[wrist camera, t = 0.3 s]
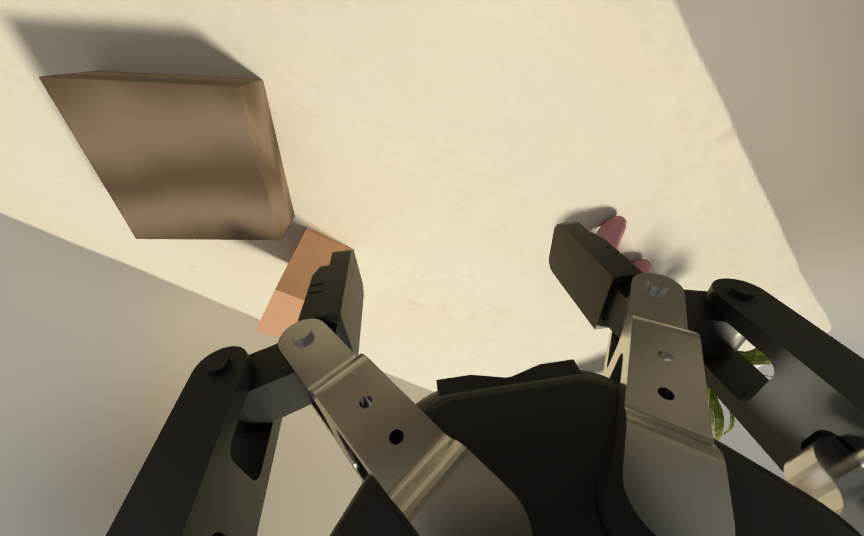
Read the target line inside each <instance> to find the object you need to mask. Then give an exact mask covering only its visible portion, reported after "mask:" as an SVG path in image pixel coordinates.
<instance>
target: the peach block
mask: <svg viewBox="0 0 864 536" xmlns="http://www.w3.org/2000/svg"><path fill="white" fill-rule="evenodd" d="M344 250H353V249H351V248H349V247H347V246H345V245H343V244H340V243H338V242H336V241H334V240H332V239H330V238H328V237H325V236H323V235H321V234H319V233H317V232H315V231H312V230H310V229H308V228H307V229H306V231H305V232H304V234H303V236H302V238H301V240H300V242H299V244H298V246H297V248H296V250H295V252H294V254H293V256H292V258H291V260H290V262H289V264H288V266H287V268H286V269H285V271H284V273H283V275H282V277H281V279H280V281H279V283H278V285H277V287H276V289H275V291H274V293H273V295H272V297H271V299H270V302H269V304H268V306H267V308H266V310H265V312H264V314H263V316H262V318H261V320H260V323H259V325H258V327H257V329H256V331H260V332H263V333H266V334H269V335H273V336H276V337H279V338H280V336H281V334H282V333H283V332H284V331H285V330H286V329H287V328H288V327H289V326H291V325H293V324H294V323H296V322H298V318H299V315H300V312H301V309H302V306H303V303H304V300H305V297H306V295H307V291H308V287H310V286H309V284H310V281H311V278H312V275H313V274H314V273H315V272H316V271H317V270H318V269H319V268H320V267H321V266H328V265H329V264H330V260H331V256H332V253H333V252H336V251H344ZM353 251H354V250H353Z"/></svg>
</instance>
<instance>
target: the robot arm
mask: <svg viewBox="0 0 864 536" xmlns="http://www.w3.org/2000/svg"><path fill="white" fill-rule="evenodd" d="M549 264H550V268H551V270H552V272H553V274H554V275H555V276H556V278H557V279H558V280H559V282H560V283H561V284H562V286H563V287H564V288H565V290H566V291H567V292H568V294H569V295H570V296H571V298H572V299H573V301H574V302H575V303H576V305H577V306H578V307H579V309H580V310H581V311H582V313H583V314H584V315H585V317H586V318H587V319H588V321H589V322H590V324H591V325H592V326H593V328H594V329H602V328H610V329H611V333H610V336H609V340H608V346H607V352H606V358H605V364H604V371H603V375H600V374H596V373H593V372H588V371H583V370H579V368H578V366H577V365H576V363H575V361H574V360H566V361H560V362H553V363H546V364H540V365H538V366H535V367H533V368H531V369H528V370H526V371H524V372H521V373H519V374H517V375H515V376H512V377H508V378H503V377H491V376H478V375H467V376H460V377H454V378H447V379H441V380H436V381H437V390H438V391H436V392H434V393H432V394H430V395H428V396H427V397H425V398H423V399H422V400H420V401H419V402H418V403H416V404H415V403H414V402H412V401H411V400H410V399H409V398H408V397H407V396H406V395H405V394H404V393H403V392H402V391H401V390H400V389H399V388H398V387H397V386H396V385H395V384H394V383H393V382H392V381H391V380H390V379H389V378H388V377H387V376H386V375H385V374H384V373H383V372H382V371H381V370H380V369H379V368H378V367H377V366H376V365H375V364H374V363H373V362H372V361H371V360H370V359H369V358H368V357H367V356H365V355H364V354H360V355H359V356H358V352H359V341H360V330H361V319H362V308H363V297H364V292H363V284H362V279H361V276H360V272H359V268H358V264H357V260H356V257H355V253H354V251H353V250H344V251H336V252H333V253H332V256H331V260H330V264H329V265H328V266H321V267H320V268H319V269H318V270H317V271H316V272H315V273H314V274H313V275H312V278H311V281H310V284H309V286H310V287H308V291H307V295H306V297H305V300H304V303H303V306H302V309H301V312H300V315H299V318H298V322H296V323H294V324H293V325H291V326H289V327H288V328H287V329H286V330H285V331H284V332H283V333H282V334H281V336H280V338H279V341H278V343H277V344H275V345H273V346H271V347H268V348H266V349H263V350H260V351H258V352H255V353H253V354H250V355H248V354H247V352H246V351H245V350H244V349H243V348H241V347H237V346H231V347H226V348H222V349H220V350H217V351H215V352H213V353H211V354H210V355H208V356H207V357H205V358H204V359H203V360H202V361H201V362H200V363H199V364H198V365H197V366H196V367H195V368H194V370H193V372H192V373H191V375H190V377H189V379H188V381H187V383H186V385H185V387H184V389H183V391H182V392H181V394H180V396H179V398H178V400H177V402H176V404H175V406H174V408H173V409H172V411H171V413H170V415H169V417H168V419H167V421H166V423H165V425H164V426H163V428H162V430H161V432H160V434H159V436H158V438H157V440H156V442H155V444H154V446H153V447H152V449H151V451H150V453H149V455H148V457H147V459H146V461H145V462H144V464H143V467H142V468H141V470H140V472H139V474H138V476H137V478H136V480H135V481H134V483H133V485H132V487H131V489H130V491H129V493H128V495H127V497H126V498H125V500H124V502H123V504H122V506H121V508H120V510H119V512H118V514H117V516H116V517H115V519H114V521H113V523H112V525H111V527H110V529H109V531H108V533H107V534H106V536H257V531H258V526H259V522H260V517H261V512H262V508H263V503H264V499H265V494H266V490H267V485H268V481H269V476H270V472H271V467H272V462H273V458H274V453H275V449H276V444H277V439H278V435H279V430H280V426H281V421H282V417H284V416H286V415H288V414H290V413H292V412H295V411H297V410H299V409H301V408H304V407H306V406H308V405H310V404H311V406H312V407H313V409H314V410H315V411H316V413H317V414H318V416H319V417H320V419H321V420H322V422H323V423H324V424H325V426H326V427H327V429H328V430H329V432H330V433H331V434H332V436H333V437H334V439H335V440H336V441H337V443H338V445H339V446H340V448H341V449H342V451H343V452H344V454H345V456H346V457H347V459H348V460H349V462H350V463H351V465H352V466H353V468H354V469H355V471H356V472H357V474H358V475H359V477H360V478H361V480H362V481H363V483H362V485H361V486H360V488H359V489H358V491H357V493H356V494H355V496H354V497H353V499H352V501H351V502H350V504H349V505H348V507H347V509H346V510H345V512H344V513H343V515H342V517H341V518H340V520H339V521H338V523H337V525H336V526H335V528H334V529H333V531H332V533H331V535H330V536H864V359H863V358H861V357H860V356H859V355H857V354H856V353H854V352H853V351H851V350H850V349H848V348H847V347H846V346H844V345H843V344H841V343H840V342H838V341H837V340H835V339H834V338H833V337H831V336H829V335H828V334H827V333H825V332H824V331H822V330H821V329H819V328H818V327H817V326H815V325H814V324H812V323H811V322H809V321H808V320H806V319H805V318H804V317H802V316H801V315H799V314H798V313H796V312H795V311H793V310H792V309H791V308H789V307H788V306H786V305H785V304H783V303H782V302H780V301H779V300H777V299H776V298H775V297H773V296H772V295H770V294H769V293H767V292H766V291H764V290H763V289H761V288H759V287H757V286H755V285H753V284H751V283H748V282H745V281H741V280H736V279H727V278H726V279H718V280H716V281H714V282H713V283H712V285H711V287H710V288H709V290H708V291H695V290H684V289H683V288H682V286H681V285H680V284H678V283H677V282H676V281H674V280H672V279H670V278H668V277H666V276H663V275H659V274H654V273H643V272H642V271H641V270H640V269H639V268H637V267H636V266H635V265H634V264H633V263H632V262H631V261H629V260H628V259H627V258H626V257H625V256H624V255H623V254H620V252H619V251H618V250H617V249H616V248H615V247H613V246H612V245H611V244H610V243H609V242H608V241H607V240H605V239H604V238H602V237H600V236H598V235H596V234H594V233H592V232H589V231H588V230H586V229H585V228H584V227H583V226H582V225H581V224H580V223H578V222H571V223H563V224H557V225H556V227H555V229H554V234H553V239H552V245H551V250H550V255H549ZM746 339H747V340H748V341H749V342H750V343H751V344H752V345H753V346H755V347H756V348H757V349H758V350H759V351H760V352H762V353H763V354H764V355H765V356H766V357H767V358H768V359H769V360H770V361H771V363H772V364H773V367H774V376H773V377H772V379H771V380H768V379H767V378H766V377H765V376H764V375H763V374H762V373H761V372H760V371H759V370H758V369H757V368H755V367H754V366H753V365H752V364H751V363H750V362H749V361H748V360H747V359H746V358H745V357H744V356H743V355H742V354H740V353H739V352H738V351H737V350H738V349H739V347H740V346H741V345H742V344H743V342H744V341H745V340H746ZM706 384H707V386H708V387H709V388H710V389H711V390H712V391H713V392H714V394H715V395H716V396H717V397H718V398H719V399H720V400H721V402H722V403H723V404H724V405H725V406H726V407H727V408H728V409H729V411H730V412H731V413H732V414H733V415H734V416H735V417H736V419H737V420H738V421H739V422H740V423H741V424H742V425H743V427H744V428H745V429H746V430H747V431H748V432H749V433H750V435H751V436H752V437H753V438H754V439H755V440H756V441H757V442H758V444H759V445H760V446H761V447H762V448H763V449H764V450H765V452H766V453H767V454H768V455H769V456H770V457H771V459H772V460H773V461H774V462H775V463H776V464H777V465H778V466H779V468H780V469H781V470H782V471H783V472H784V475H785V478H786V480H787V481H785V480H784V479H782V478H780V477H779V476H776V475H775V474H773V473H772V472H770V471H768V470H766V469H765V468H763V467H761V466H760V465H758V464H756V463H755V462H753V461H751V460H750V459H748V458H746V457H745V456H743V455H741V454H740V453H738V452H736V451H734V450H732V449H731V448H729V447H728V446H726V445H724V444H723V443H721V442H719V441H718V440H716V439H714V438H713V434H712V426H711V418H710V410H709V402H708V394H707V386H706Z"/></svg>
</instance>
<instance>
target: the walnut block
mask: <svg viewBox="0 0 864 536" xmlns="http://www.w3.org/2000/svg"><path fill="white" fill-rule="evenodd" d="M39 78H40V80H41V81H42V83H43V85H44V86H45V88H46V90H47V91H48V93H49V95H50V96H51V98H52V100H53V101H54V103H55V105H56V106H57V108H58V110H59V111H60V113H61V115H62V116H63V118H64V120H65V121H66V123H67V125H68V126H69V128H70V130H71V131H72V133H73V135H74V136H75V138H76V140H77V141H78V143H79V145H80V146H81V148H82V150H83V151H84V153H85V155H86V156H87V158H88V160H89V161H90V163H91V165H92V166H93V168H94V170H95V171H96V173H97V175H98V176H99V178H100V180H101V181H102V183H103V184H104V186H105V188H106V189H107V191H108V193H109V194H110V196H111V198H112V199H113V201H114V203H115V204H116V206H117V208H118V209H119V211H120V213H121V214H122V216H123V218H124V219H125V221H126V223H127V224H128V226H129V228H130V229H131V231H132V233H133V234H134V236H135V238H136V239H220V240H280V239H281V238H282V236H283V234H284V233H285V231H286V230H287V228H288V226H289V225H290V223H291V221H292V220H293V218H294V211H293V207H292V203H291V198H290V194H289V190H288V186H287V181H286V177H285V173H284V168H283V164H282V160H281V155H280V151H279V147H278V143H277V138H276V134H275V130H274V125H273V121H272V117H271V112H270V108H269V104H268V100H267V95H266V91H265V87H264V82H263V80H257V79H238V78H220V77H202V76H183V75H165V74H146V73H128V72H110V71H91V72H81V73H71V74H62V75H52V76H42V77H39Z"/></svg>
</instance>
